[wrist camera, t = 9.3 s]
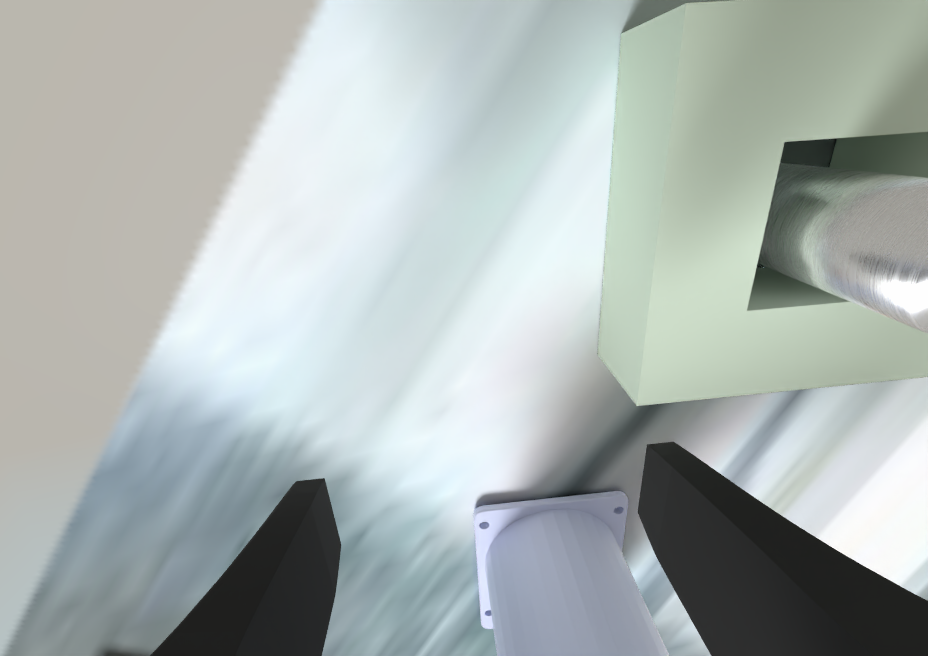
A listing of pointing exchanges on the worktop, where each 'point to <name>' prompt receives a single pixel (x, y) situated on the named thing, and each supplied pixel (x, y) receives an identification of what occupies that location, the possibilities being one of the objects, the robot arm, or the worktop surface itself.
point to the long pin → (853, 237)
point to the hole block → (750, 192)
